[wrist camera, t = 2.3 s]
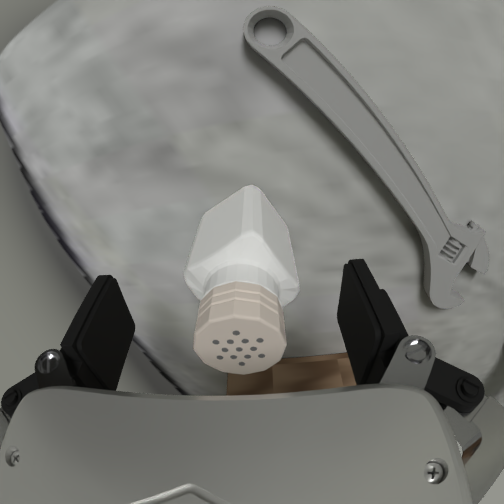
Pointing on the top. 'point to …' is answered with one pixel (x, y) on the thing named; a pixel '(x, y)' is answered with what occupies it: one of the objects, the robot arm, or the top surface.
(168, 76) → the top surface
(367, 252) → the top surface
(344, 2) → the top surface
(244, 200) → the pepper shaker
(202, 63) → the top surface
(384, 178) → the adjustable wrench
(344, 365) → the socket block
